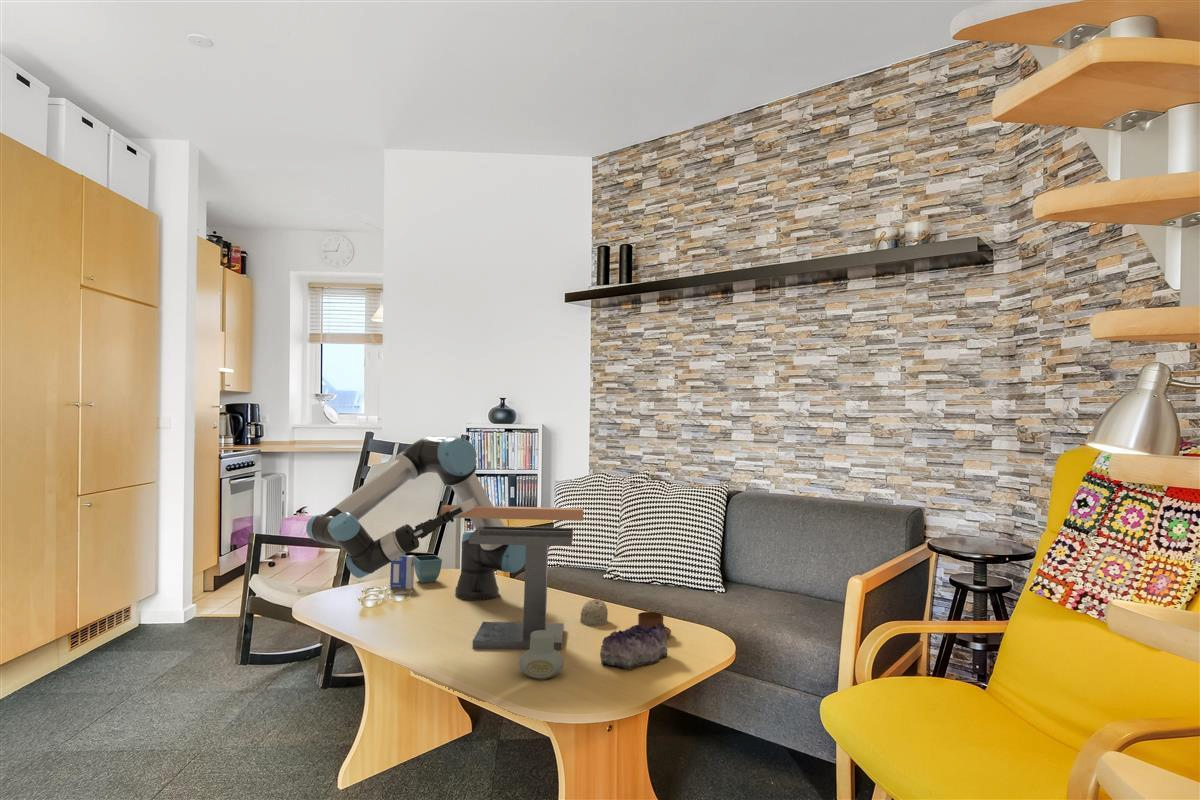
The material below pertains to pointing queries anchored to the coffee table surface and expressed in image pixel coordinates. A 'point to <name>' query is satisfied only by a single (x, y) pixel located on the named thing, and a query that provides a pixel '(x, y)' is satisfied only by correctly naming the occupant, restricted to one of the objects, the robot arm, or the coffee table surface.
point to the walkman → (402, 572)
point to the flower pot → (427, 568)
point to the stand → (535, 585)
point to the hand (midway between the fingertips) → (473, 502)
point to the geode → (634, 646)
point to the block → (520, 513)
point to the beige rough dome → (594, 613)
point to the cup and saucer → (652, 620)
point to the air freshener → (541, 656)
